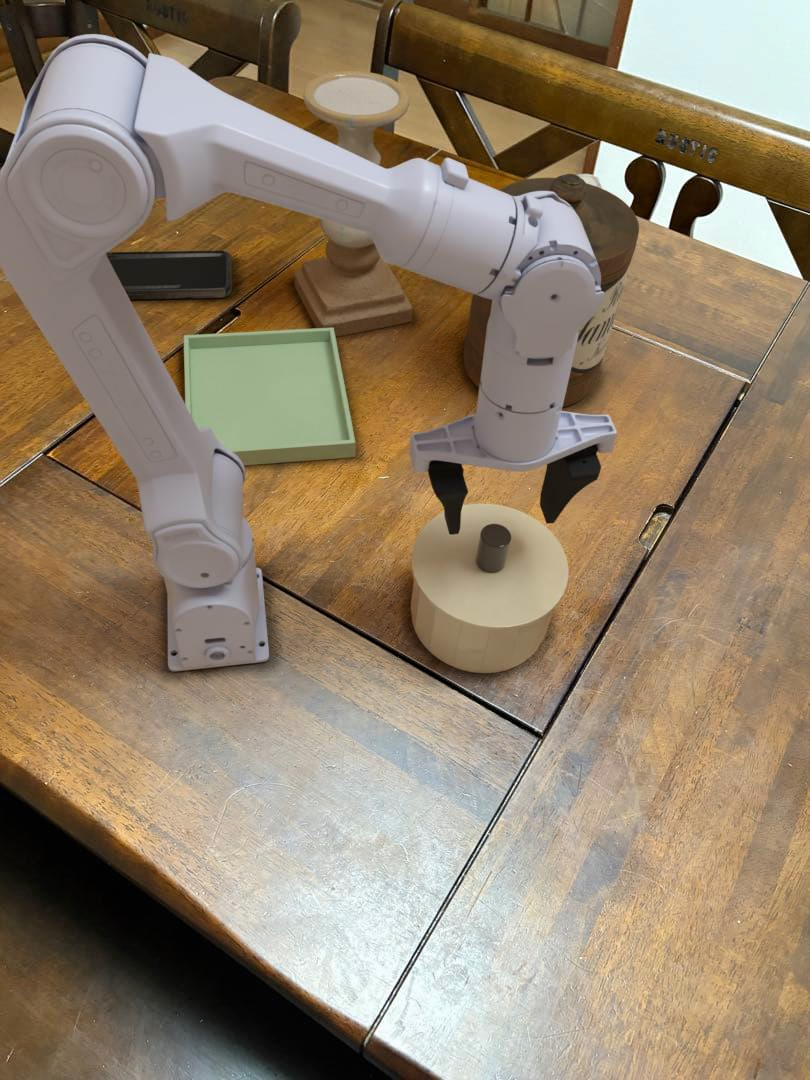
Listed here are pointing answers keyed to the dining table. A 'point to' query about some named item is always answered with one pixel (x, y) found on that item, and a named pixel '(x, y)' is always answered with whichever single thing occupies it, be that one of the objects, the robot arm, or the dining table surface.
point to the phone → (173, 274)
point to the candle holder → (352, 258)
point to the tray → (270, 394)
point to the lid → (490, 568)
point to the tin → (473, 639)
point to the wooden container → (613, 249)
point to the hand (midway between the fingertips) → (499, 519)
